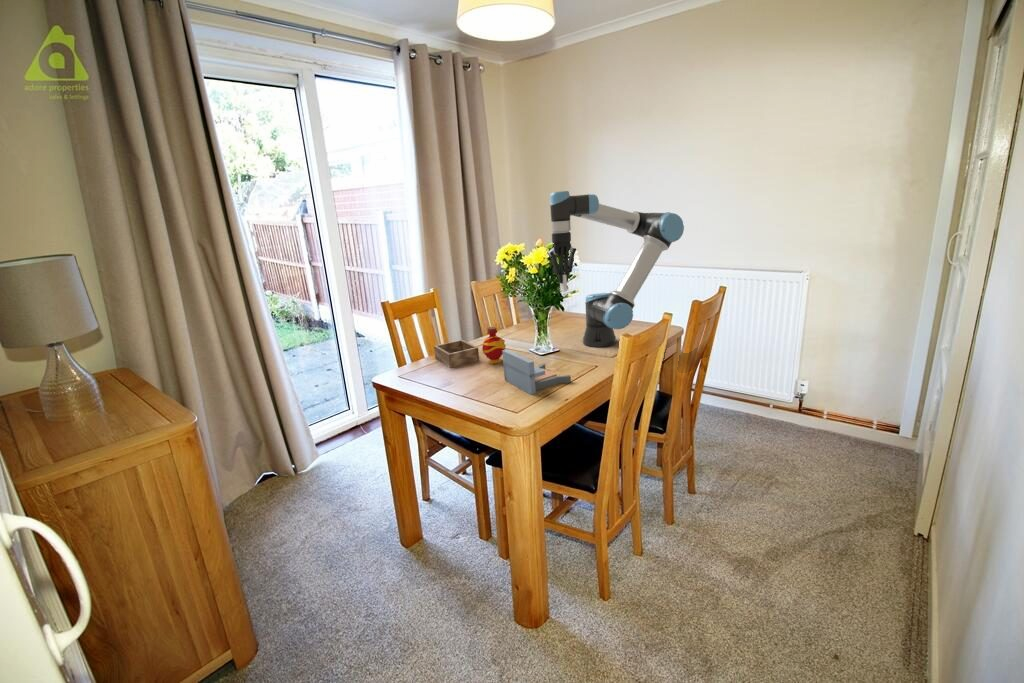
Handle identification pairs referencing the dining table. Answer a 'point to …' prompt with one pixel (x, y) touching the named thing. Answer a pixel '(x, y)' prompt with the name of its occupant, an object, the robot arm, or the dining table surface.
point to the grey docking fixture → (527, 373)
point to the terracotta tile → (547, 375)
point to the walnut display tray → (456, 353)
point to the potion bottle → (493, 346)
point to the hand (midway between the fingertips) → (563, 290)
